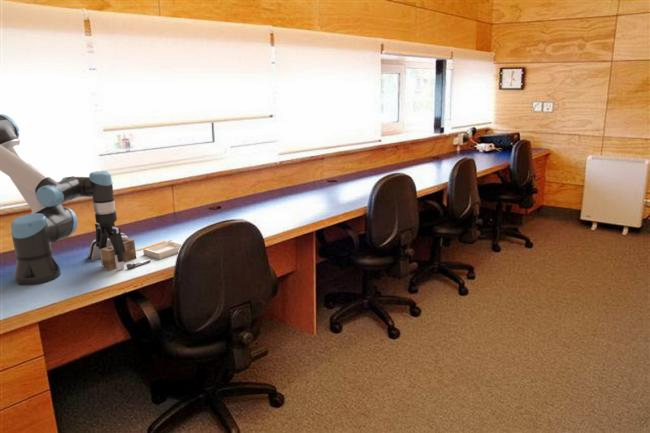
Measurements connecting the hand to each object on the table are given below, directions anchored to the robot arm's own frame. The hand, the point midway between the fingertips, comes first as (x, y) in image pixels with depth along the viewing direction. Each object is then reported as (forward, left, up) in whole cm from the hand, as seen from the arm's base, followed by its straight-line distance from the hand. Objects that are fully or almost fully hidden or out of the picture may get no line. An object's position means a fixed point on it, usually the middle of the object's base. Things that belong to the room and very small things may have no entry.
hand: (113, 266), depth 199 cm
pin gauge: (+8, -7, 0) cm, 11 cm away
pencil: (+23, +10, -1) cm, 25 cm away
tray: (+23, -2, 0) cm, 23 cm away
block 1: (0, 0, 0) cm, 0 cm away
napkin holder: (+8, +16, -1) cm, 18 cm away
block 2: (+9, +4, 0) cm, 10 cm away
